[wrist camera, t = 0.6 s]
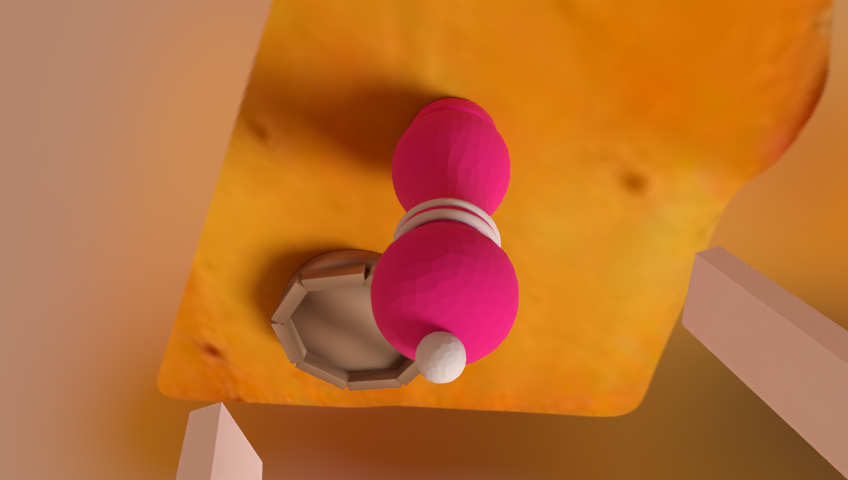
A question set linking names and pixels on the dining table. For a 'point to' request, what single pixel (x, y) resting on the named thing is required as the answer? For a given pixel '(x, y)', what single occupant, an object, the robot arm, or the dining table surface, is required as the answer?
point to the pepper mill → (447, 243)
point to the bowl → (338, 324)
